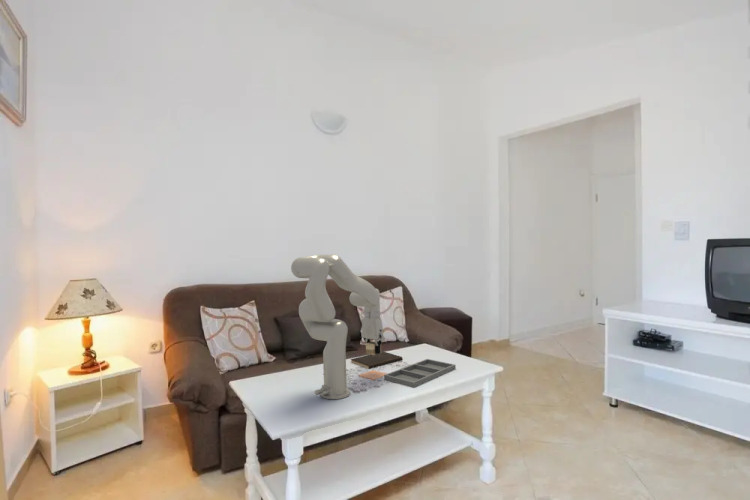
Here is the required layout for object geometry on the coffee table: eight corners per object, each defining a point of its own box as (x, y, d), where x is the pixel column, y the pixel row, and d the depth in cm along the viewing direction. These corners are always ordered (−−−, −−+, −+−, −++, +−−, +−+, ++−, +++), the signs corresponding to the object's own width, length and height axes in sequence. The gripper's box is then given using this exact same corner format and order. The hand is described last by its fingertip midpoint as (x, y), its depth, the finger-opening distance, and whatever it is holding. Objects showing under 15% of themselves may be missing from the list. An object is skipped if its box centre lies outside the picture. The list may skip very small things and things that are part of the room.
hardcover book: (350, 363, 221) (350, 359, 221) (383, 355, 235) (383, 351, 235) (369, 370, 208) (368, 365, 208) (402, 361, 222) (402, 357, 222)
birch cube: (373, 355, 194) (373, 344, 194) (366, 353, 197) (365, 343, 197) (380, 352, 197) (380, 342, 197) (373, 351, 201) (372, 340, 201)
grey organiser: (413, 388, 178) (413, 382, 178) (384, 380, 190) (384, 375, 190) (455, 369, 203) (455, 364, 203) (427, 363, 215) (427, 358, 215)
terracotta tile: (374, 380, 190) (374, 379, 190) (358, 376, 197) (358, 375, 197) (388, 375, 197) (388, 373, 197) (373, 371, 204) (372, 370, 204)
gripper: (354, 314, 200) (355, 351, 200) (380, 317, 188) (381, 357, 189) (364, 311, 205) (366, 348, 206) (390, 315, 194) (392, 353, 194)
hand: (373, 352), depth 197 cm, fingers closed on birch cube, 4 cm apart
